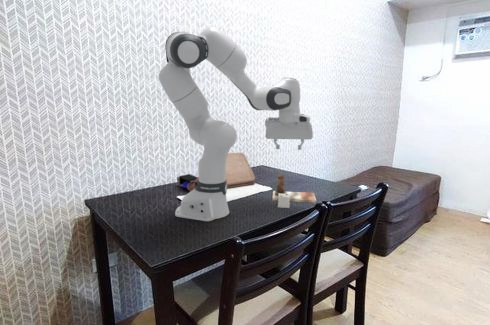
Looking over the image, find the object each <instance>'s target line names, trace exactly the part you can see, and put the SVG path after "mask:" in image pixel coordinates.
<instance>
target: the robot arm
mask: <svg viewBox="0 0 490 325" xmlns="http://www.w3.org/2000/svg"><path fill="white" fill-rule="evenodd" d="M164 47H165V48H164V51H165V56H166V57H165V58H166V63H167V64H165V65H164V66H163V67H162V68H161V69H160V71H159V74H158V80H159V82H160V85H161V87H162V88H163V90H164V93H165V94H166V96H167V97H168V99H169V100H170V101H171V103H172V104H173V106H174V107H175V109H176V111H178V113H179V114H180V115H181V117H182V119H183V120H184V122H185V125H186V127H187V129H188V133H189V134H188V135H189V137H190V139H192V141H194V142H195V143H196V144H198V145H200V146H203V147H204V148H203V153H202V157H201V158H200V159H199V161H198V165H197V166H198V178H197V179H196V180H194V181H193V182H194V184H193V187H194V189H193V190H192V191H189V192H188V193H187V194H185V195H184V196H183V197H182V199H181V201H180V205H179V206H178V207H177V208H176V209H175V212H174V215H175V217H178V218H183V219H189V220H196V221H202V222H211V221H213V220H217V219H221V218H222V219H223V218H224V217H227V216H228V215H229V214H230V210H229V209H230V208H229V206H228V205H229V204H228V200H227V192H228V188H227V181H226V160H227V156H228V153H230V150H231V149H232V148H233V147H234V145H235V144H236V142H237V138H238V136H237V135H238V134H237V130H236V129H235V127H234V126H233V125H232V124H229V123H228V122H226V121H224V120H223V121H222V120H217V119H215V118H213V117H212V116H211V113H210V111H209V107H208V106H209V103H208V100H207V98H206V97H205V96H204V94H203V93H202V90H201V89H200V87H199V86H198V84H197V83H196V82H195V80H194V79H193V77H192V75H191V72H190V71H191V70H190V69H192V68H195V67H197V66H198V65H200V64H201V63H202V62H203V61H205V60H207V61H208V62H209V63H211V65H213V67H215V68H216V69H217V70H218V71H219V72H220V73H221V74H223V75H224V76H225V77H226V78H228V80H229V81H230V82H231V83H232V84H233V85H234V87H236V88H237V89H238V91H240V92H241V93H242V94H243V95H244V96H245V97H246V99H247V101H248V103H249V105H250V107H252V108H253V109H254V110H256V111H271V112H272V111H273V112H274V111H278V116H277V117H267V118H266V119H265V121H264V125H265V128H266V129H265V138H266V139H268V140H273V143H274V144H275V149H276V150H280V148H281V145H280V144H278V140H300V143H299V144H298V145H297V150H298V151H299V150H302V146H303V144H304V143H305V140H312V139H313V138H314V137H313V136H314V134H313V125H312V123H311V122H310V121H311V117H310V116H309V115H306V114H304V113H301V108H300V102H301V87H300V82H299V81H298V80H297V79H296V78H292V77H281V78H280V79H279V81H278V82H276V83H274V84H272V85H271V86H260V85H258V84H256V82H254V80H252V79H251V78H250V76H248V75H247V73H246V72H245V69H246V67H247V61H248V60H247V55H246V53H245V52H244V50H243V49H242V48H241V46H239V45H238V44H237V43H236V42H235V41H234V40H233V39H232V38H230V36H228V34H226V33H224V32H223V31H221V30H220V29H218V28H217V27H215V26H208V27H206V28H205V29H203V30H202V31H201V32H200V33H199V34H198V35H196V34H191V33H190V32H186V31H175V32H173V33H171V34H170V35H168V37H167V39H166V41H165V46H164Z"/></svg>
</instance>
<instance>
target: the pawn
mask: <svg viewBox="0 0 490 325" xmlns="http://www.w3.org/2000/svg"><path fill="white" fill-rule="evenodd" d="M285 182H286V180H285V176H284V174H282V173H280V174H278V175H277V178H276V190H274V191H275V195H277V196H278V195H279V193H282V194H286V192H285Z"/></svg>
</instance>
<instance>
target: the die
mask: <svg viewBox="0 0 490 325" xmlns="http://www.w3.org/2000/svg"><path fill="white" fill-rule="evenodd" d="M290 202H291V201H290V194H282V193H279V195H278V201H277V208H284V209H290Z"/></svg>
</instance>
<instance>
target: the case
mask: <svg viewBox="0 0 490 325" xmlns="http://www.w3.org/2000/svg"><path fill="white" fill-rule="evenodd" d="M255 180H256V176H255V174H254V171H253V170H252V166H251V165H250V163H249V161H248V159H247V157H246V155H245V154H244V153H243V152H229V153H228V156H227V160H226V181H227V189H230V188H231V189H232V188H236V187H237V188H238V187H243V186H244V187H245V186H249V185H254V184H255Z"/></svg>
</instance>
